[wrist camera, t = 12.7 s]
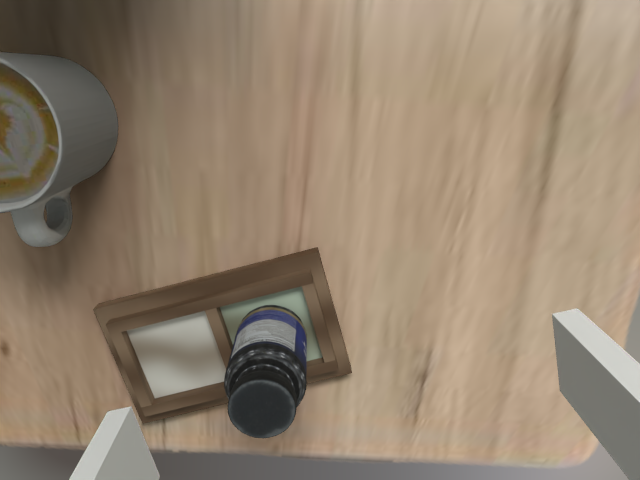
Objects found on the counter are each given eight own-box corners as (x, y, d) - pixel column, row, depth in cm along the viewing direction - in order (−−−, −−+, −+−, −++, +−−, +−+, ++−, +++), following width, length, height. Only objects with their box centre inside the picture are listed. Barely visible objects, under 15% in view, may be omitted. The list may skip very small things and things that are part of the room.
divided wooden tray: (98, 303, 47) (88, 314, 45) (317, 247, 46) (317, 255, 43) (146, 415, 50) (139, 430, 48) (350, 365, 49) (352, 379, 47)
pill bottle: (296, 371, 48) (292, 456, 37) (230, 355, 47) (207, 437, 37) (315, 311, 46) (317, 383, 35) (246, 294, 45) (228, 361, 35)
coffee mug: (-16, 49, 40) (-117, 42, 31) (116, 61, 41) (57, 57, 31) (1, 218, 44) (-84, 258, 35) (121, 227, 45) (70, 269, 35)
